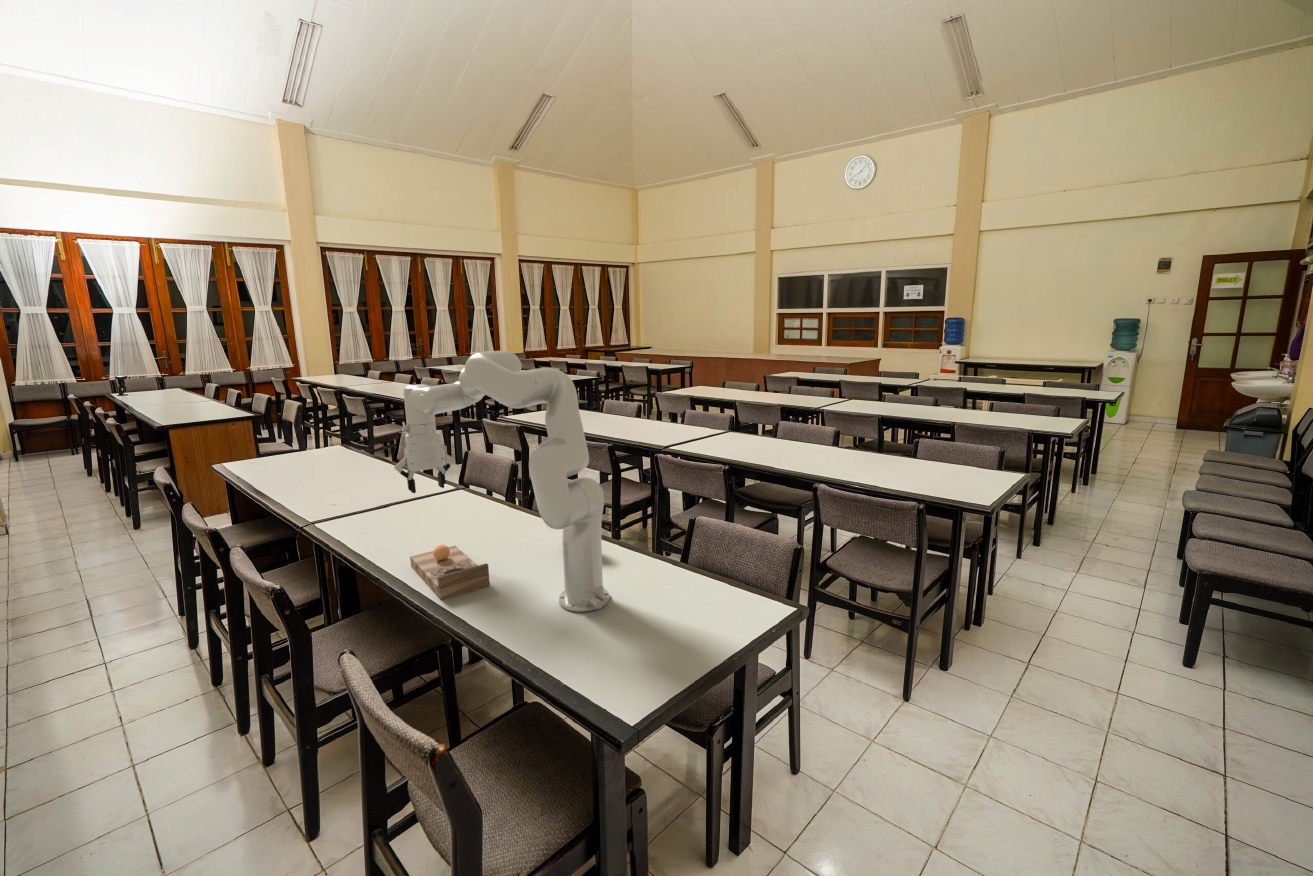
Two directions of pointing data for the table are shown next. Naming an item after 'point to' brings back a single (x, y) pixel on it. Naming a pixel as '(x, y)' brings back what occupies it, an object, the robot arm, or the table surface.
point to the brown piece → (450, 573)
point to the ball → (441, 552)
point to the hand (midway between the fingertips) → (427, 489)
